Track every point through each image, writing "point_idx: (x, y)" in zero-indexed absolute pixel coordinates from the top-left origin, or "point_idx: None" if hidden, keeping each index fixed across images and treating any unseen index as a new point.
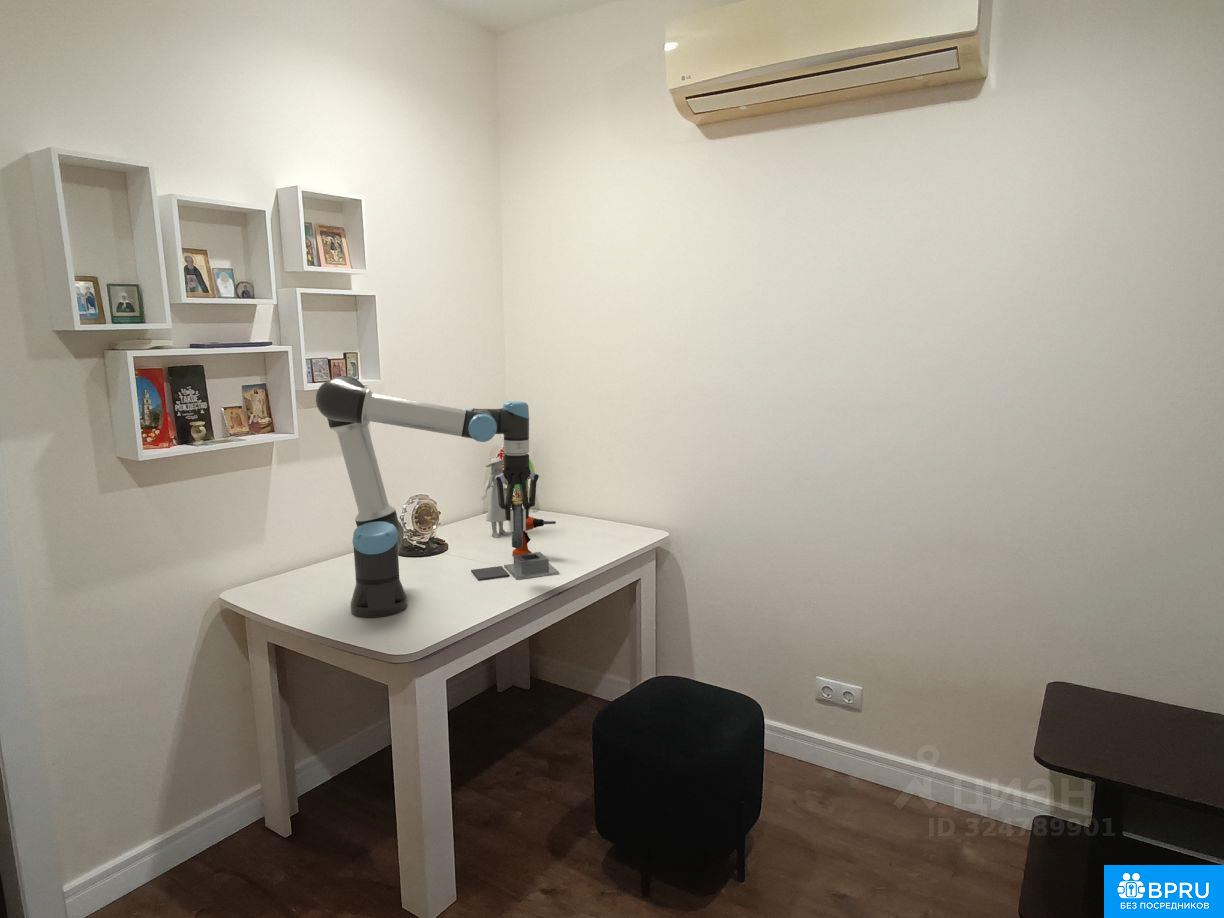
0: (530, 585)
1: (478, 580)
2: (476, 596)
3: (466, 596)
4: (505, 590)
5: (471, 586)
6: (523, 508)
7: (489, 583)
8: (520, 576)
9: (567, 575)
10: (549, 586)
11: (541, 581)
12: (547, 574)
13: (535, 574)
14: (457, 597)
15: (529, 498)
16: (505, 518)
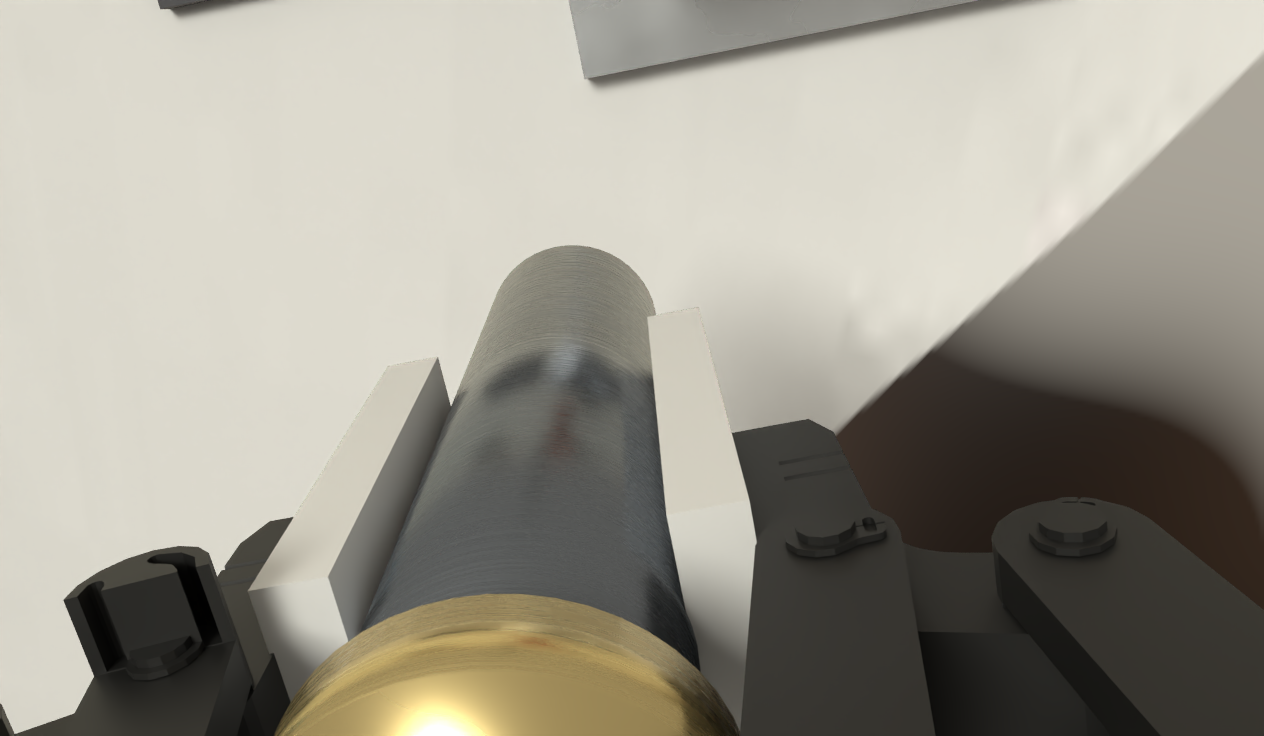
0: (711, 295)
1: (168, 8)
2: (191, 480)
3: (98, 460)
4: (457, 383)
5: (113, 185)
6: (746, 612)
7: (295, 131)
8: (633, 60)
9: (1162, 56)
10: (889, 367)
11: (841, 196)
12: (949, 4)
13: (809, 29)
14: (18, 467)
15: (1095, 706)
16: (247, 545)
